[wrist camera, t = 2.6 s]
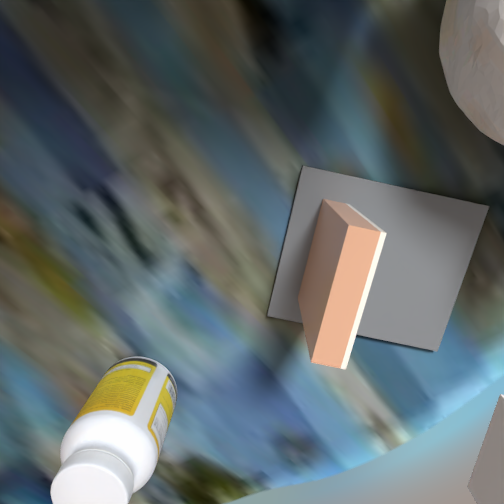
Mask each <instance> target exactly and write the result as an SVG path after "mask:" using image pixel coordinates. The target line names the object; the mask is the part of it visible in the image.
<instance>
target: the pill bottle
mask: <svg viewBox="0 0 504 504" xmlns="http://www.w3.org/2000/svg"><path fill="white" fill-rule="evenodd" d="M176 401H177V386H176V383H175V380H174V378H173V376H172V375H171V373H170V372H169V371H168V370H167V369H166V368H165V367H164V366H163V365H162V364H160V363H159V362H157V361H155V360H153V359H150V358H146V357H129V358H125V359H122V360H120V361H118V362H116V363H115V364H114V365H112V366H111V367H110V368H109V369H108V370H107V372H106V373H105V374H104V376H103V378H102V379H101V381H100V382H99V384H98V385H97V387H96V388H95V390H94V391H93V393H92V394H91V396H90V397H89V399H88V400H87V402H86V403H85V405H84V406H83V408H82V409H81V411H80V412H79V414H78V415H77V417H76V418H75V420H74V421H73V423H72V424H71V426H70V427H69V429H68V430H67V432H66V434H65V436H64V438H63V441H62V444H61V450H60V456H61V463H62V466H61V467H60V469H59V471H58V473H57V474H56V476H55V478H54V480H53V482H52V485H51V499H52V502H53V504H128V503H129V501H130V498H131V496H132V493H134V492H136V491H138V490H139V489H140V488H142V487H143V486H144V485H145V484H146V483H147V481H148V480H149V479H150V477H151V476H152V474H153V472H154V469H155V467H156V464H157V461H158V458H159V455H160V452H161V449H162V445H163V442H164V439H165V436H166V433H167V429H168V426H169V423H170V420H171V417H172V414H173V411H174V408H175V405H176Z"/></svg>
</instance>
